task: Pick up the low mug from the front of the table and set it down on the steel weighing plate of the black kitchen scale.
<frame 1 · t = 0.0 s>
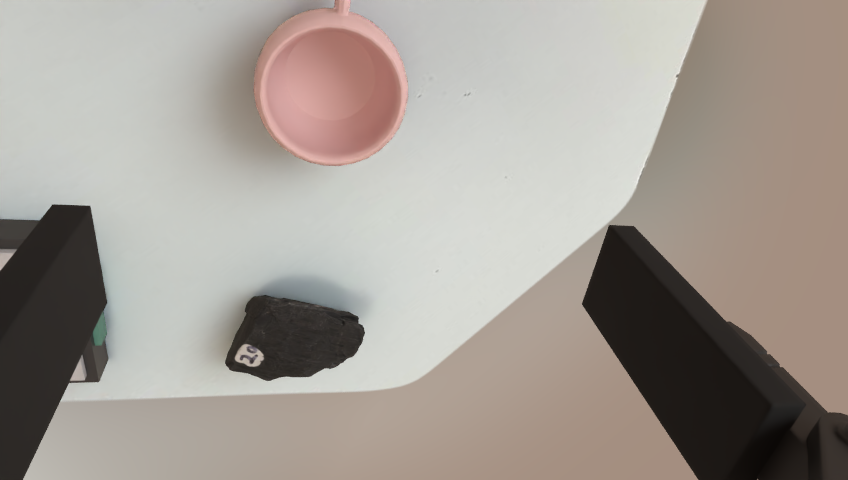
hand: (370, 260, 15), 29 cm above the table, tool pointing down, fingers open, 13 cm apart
scale: (0, 295, 46), on the table
rock: (294, 313, 52), on the table
mug: (331, 58, 41), on the table
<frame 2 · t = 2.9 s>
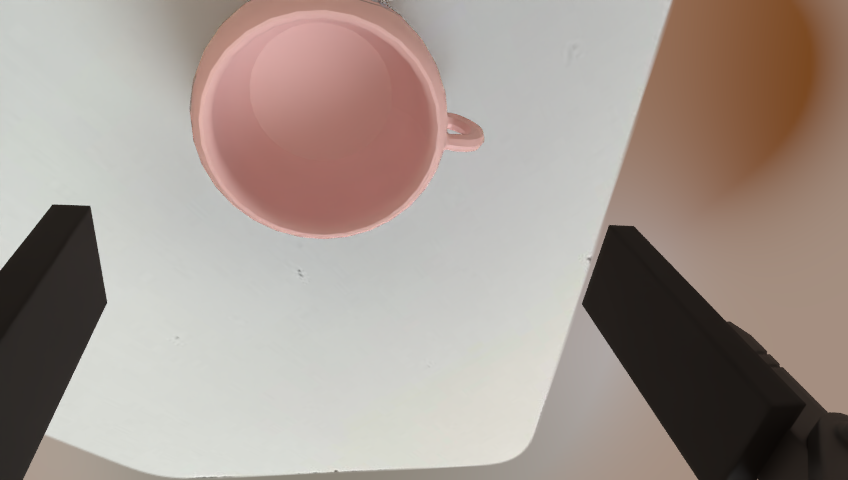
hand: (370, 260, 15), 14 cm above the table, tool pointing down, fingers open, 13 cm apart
mug: (343, 90, 27), on the table
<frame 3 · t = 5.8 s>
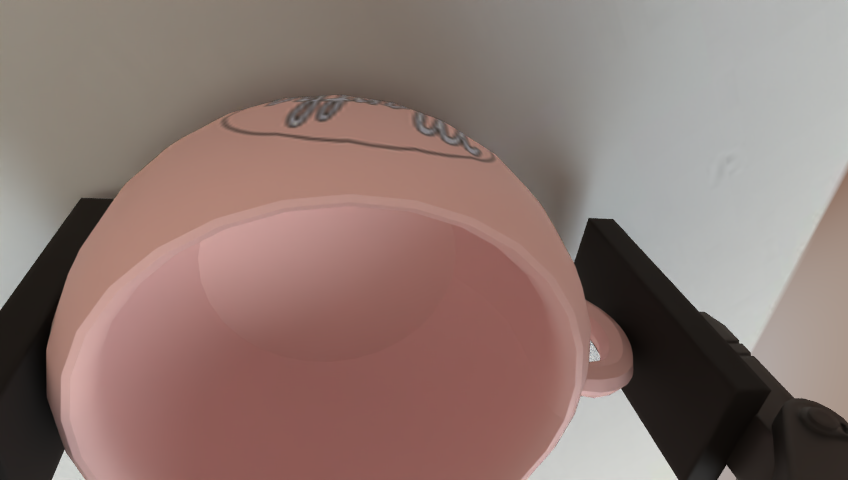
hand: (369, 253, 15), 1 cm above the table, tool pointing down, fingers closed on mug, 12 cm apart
mug: (367, 243, 16), on the table, touching gripper
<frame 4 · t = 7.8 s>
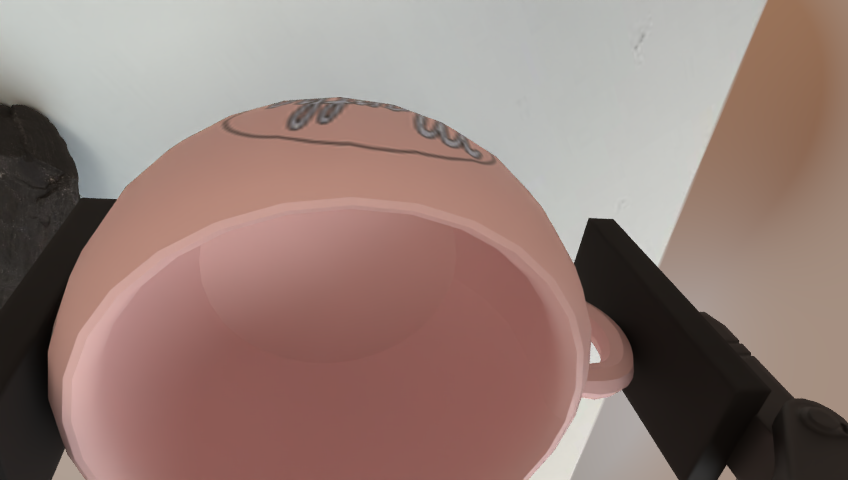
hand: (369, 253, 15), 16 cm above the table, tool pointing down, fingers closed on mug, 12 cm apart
rock: (16, 180, 29), on the table
mug: (368, 245, 16), point 16 cm above the table, touching gripper
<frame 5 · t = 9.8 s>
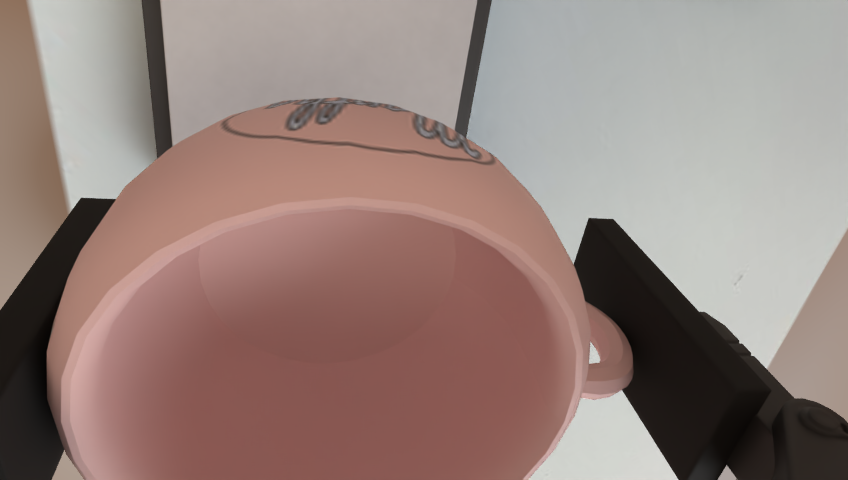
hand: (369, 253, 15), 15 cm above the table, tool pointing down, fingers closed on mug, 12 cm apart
scale: (320, 57, 27), on the table
mug: (367, 245, 16), point 15 cm above the table, touching gripper
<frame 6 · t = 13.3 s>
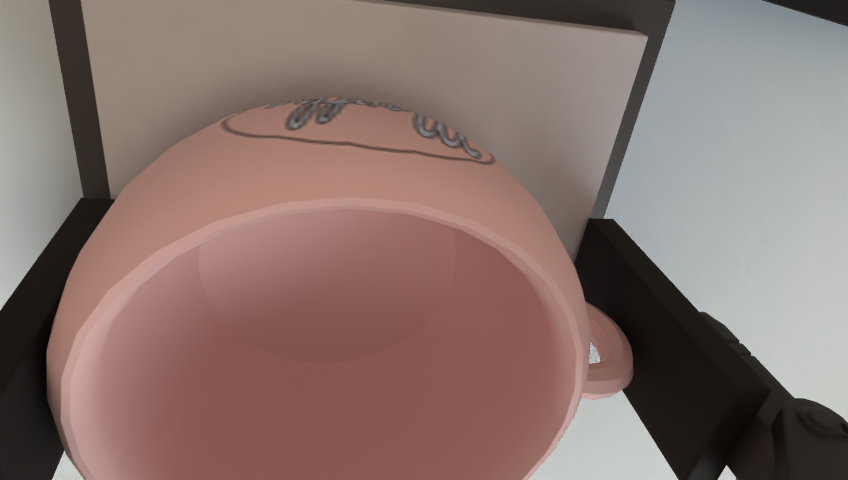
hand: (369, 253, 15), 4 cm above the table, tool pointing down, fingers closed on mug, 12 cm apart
scale: (358, 192, 18), on the table
mug: (367, 244, 16), point 3 cm above the table, touching gripper, scale
when the fingers open (4 cm above the table, at t = 13.7 s): mug stays where it is, resting on scale.
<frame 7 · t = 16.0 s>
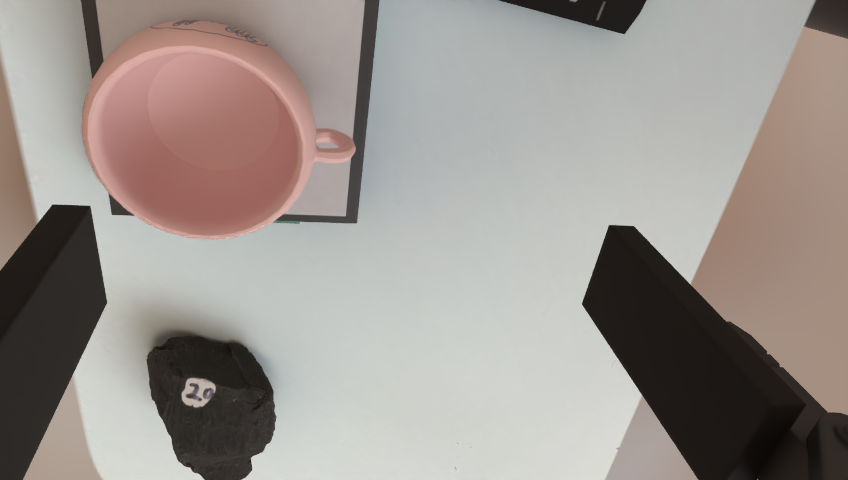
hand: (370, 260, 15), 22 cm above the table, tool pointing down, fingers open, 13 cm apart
scale: (242, 90, 33), on the table
rock: (219, 380, 44), on the table
mug: (237, 108, 30), point 3 cm above the table, touching scale
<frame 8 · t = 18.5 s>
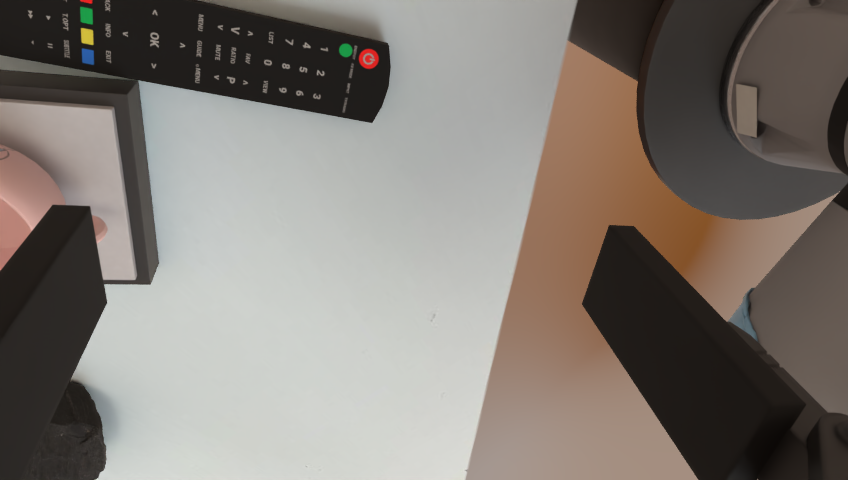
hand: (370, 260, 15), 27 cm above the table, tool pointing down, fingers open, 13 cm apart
scale: (37, 174, 39), on the table
rock: (65, 413, 50), on the table
remote control: (202, 42, 36), on the table
mug: (17, 196, 36), point 3 cm above the table, touching scale
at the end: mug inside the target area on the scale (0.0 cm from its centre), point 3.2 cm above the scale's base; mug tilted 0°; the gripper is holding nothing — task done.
